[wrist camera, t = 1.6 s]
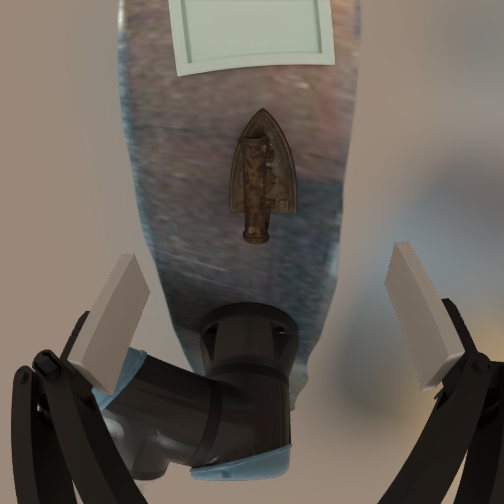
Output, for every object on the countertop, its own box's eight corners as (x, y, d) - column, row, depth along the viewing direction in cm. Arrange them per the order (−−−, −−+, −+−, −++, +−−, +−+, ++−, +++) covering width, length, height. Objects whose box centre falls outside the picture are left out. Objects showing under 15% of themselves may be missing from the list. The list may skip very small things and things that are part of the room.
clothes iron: (232, 214, 31) (205, 249, 22) (230, 111, 27) (198, 101, 18) (296, 216, 30) (295, 253, 21) (298, 111, 26) (299, 98, 17)
